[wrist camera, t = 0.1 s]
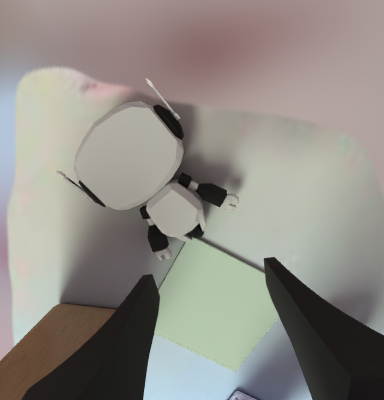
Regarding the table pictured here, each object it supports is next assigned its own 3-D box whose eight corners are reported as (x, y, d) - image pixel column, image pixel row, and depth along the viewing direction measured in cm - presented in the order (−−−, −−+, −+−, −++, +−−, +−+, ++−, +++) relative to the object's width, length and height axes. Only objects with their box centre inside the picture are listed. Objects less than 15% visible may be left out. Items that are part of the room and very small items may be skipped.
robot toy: (241, 194, 23) (152, 84, 19) (252, 206, 18) (140, 67, 15) (164, 253, 25) (74, 164, 22) (157, 276, 21) (44, 169, 18)
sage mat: (235, 368, 27) (235, 371, 27) (139, 323, 26) (138, 325, 26) (297, 289, 24) (299, 291, 23) (189, 234, 23) (189, 235, 23)
